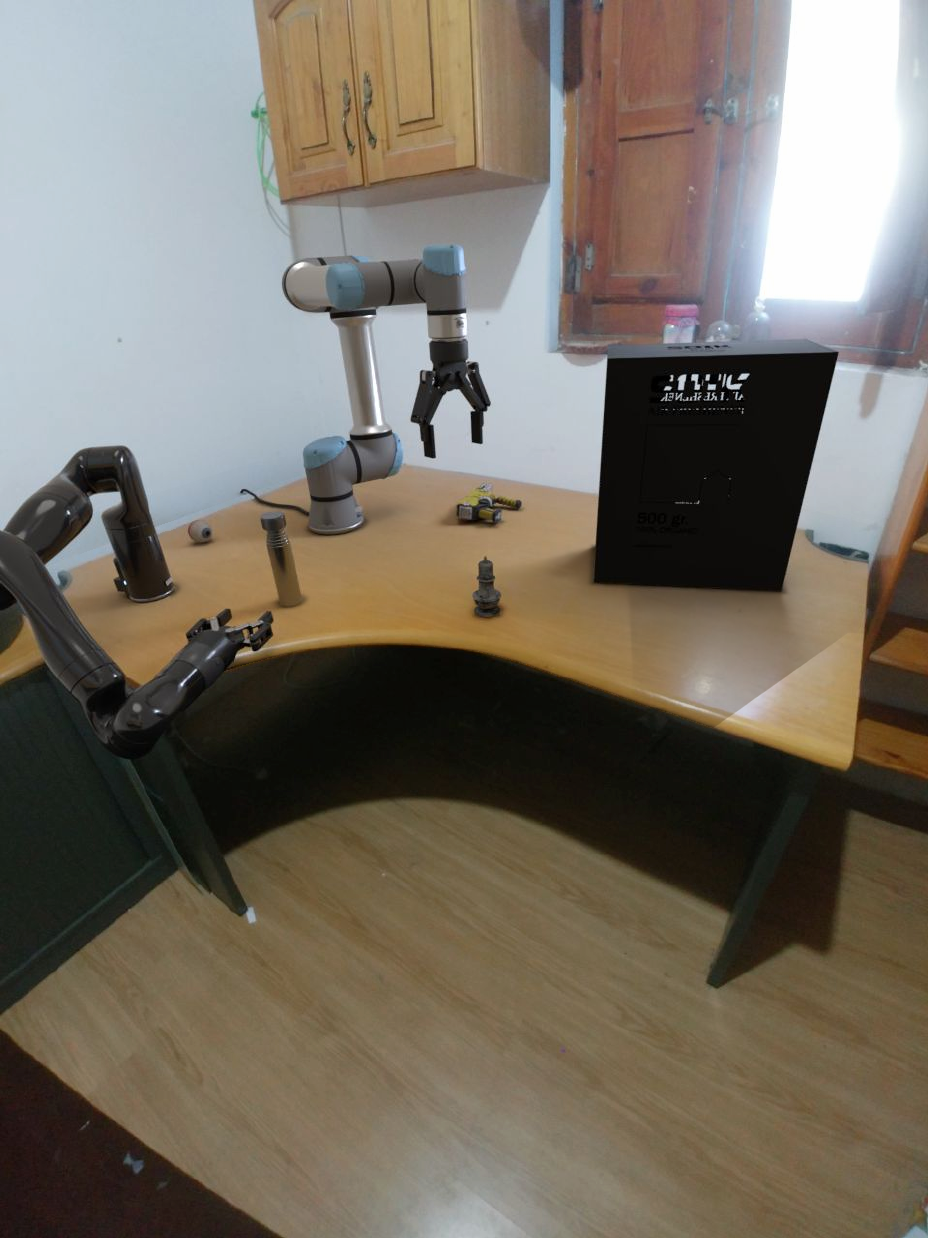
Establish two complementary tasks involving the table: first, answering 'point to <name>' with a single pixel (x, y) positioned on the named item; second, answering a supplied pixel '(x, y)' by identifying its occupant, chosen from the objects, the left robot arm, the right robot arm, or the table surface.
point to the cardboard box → (707, 461)
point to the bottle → (283, 567)
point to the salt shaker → (486, 591)
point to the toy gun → (483, 505)
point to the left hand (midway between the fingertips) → (250, 613)
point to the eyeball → (200, 531)
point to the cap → (273, 520)
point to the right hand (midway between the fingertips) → (454, 450)
